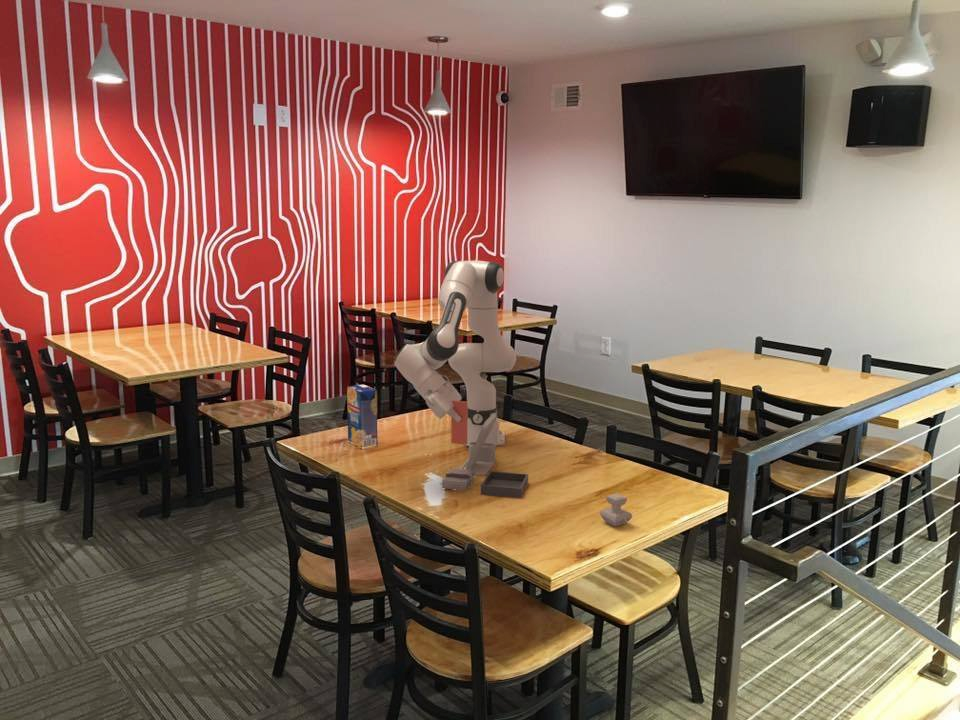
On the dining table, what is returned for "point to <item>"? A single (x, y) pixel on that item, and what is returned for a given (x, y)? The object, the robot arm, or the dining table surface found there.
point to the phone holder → (482, 450)
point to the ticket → (459, 423)
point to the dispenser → (458, 479)
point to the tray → (504, 484)
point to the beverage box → (362, 415)
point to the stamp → (616, 511)
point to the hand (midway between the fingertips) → (461, 419)
